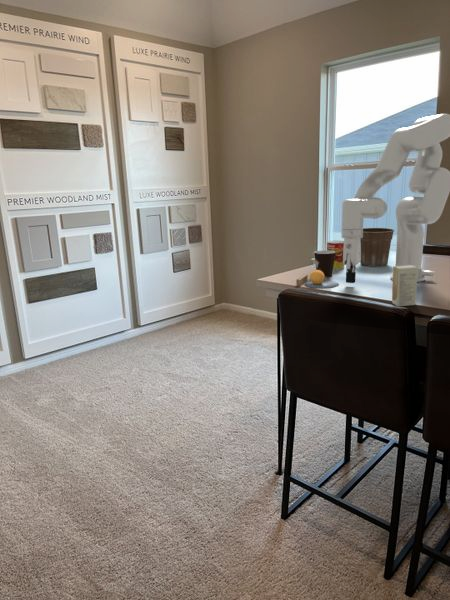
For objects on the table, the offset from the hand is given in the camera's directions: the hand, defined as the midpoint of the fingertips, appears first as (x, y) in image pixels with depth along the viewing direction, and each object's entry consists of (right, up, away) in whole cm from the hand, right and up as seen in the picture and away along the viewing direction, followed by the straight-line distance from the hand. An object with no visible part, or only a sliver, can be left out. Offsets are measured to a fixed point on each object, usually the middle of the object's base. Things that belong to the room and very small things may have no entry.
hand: (350, 282), depth 169 cm
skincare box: (+10, -8, -26) cm, 29 cm away
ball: (-12, +2, +5) cm, 13 cm away
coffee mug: (-5, +4, +22) cm, 23 cm away
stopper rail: (-17, 0, +9) cm, 19 cm away
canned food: (+3, +8, +36) cm, 37 cm away
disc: (-10, -1, +5) cm, 11 cm away
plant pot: (+22, +10, +40) cm, 47 cm away
